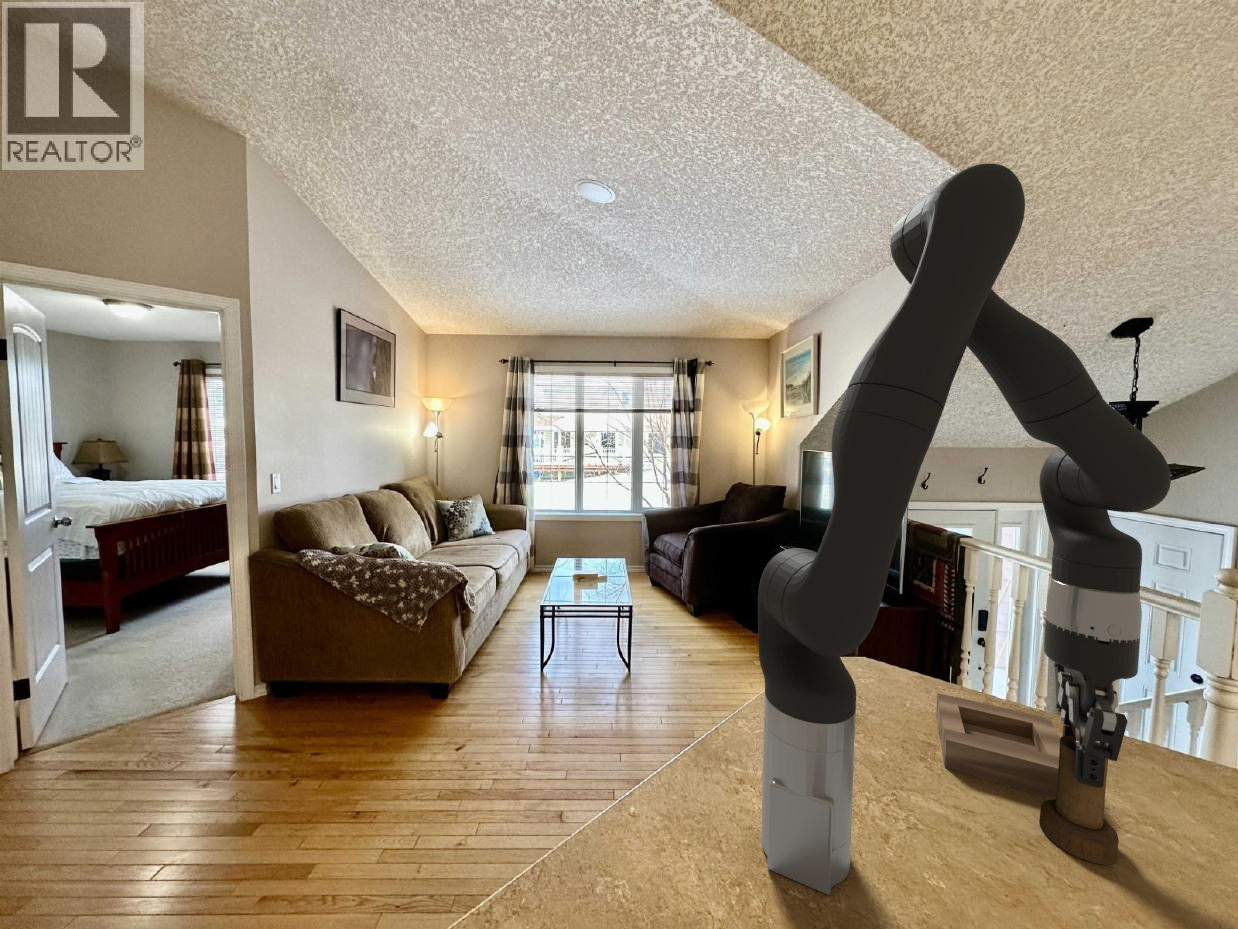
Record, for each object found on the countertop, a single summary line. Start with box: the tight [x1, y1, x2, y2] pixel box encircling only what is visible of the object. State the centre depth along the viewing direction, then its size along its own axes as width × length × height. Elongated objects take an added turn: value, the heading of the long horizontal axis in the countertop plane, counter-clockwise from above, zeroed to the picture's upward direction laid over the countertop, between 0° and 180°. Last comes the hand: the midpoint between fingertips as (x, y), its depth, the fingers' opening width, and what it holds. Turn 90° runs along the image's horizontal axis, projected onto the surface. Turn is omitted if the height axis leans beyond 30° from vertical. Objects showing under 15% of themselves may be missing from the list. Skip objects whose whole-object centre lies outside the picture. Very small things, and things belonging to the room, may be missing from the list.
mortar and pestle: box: [1038, 697, 1120, 866], centre depth 55 cm, size 7×6×18 cm
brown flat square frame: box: [935, 692, 1061, 799], centre depth 70 cm, size 14×14×4 cm
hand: (1081, 770), depth 55 cm, fingers closed on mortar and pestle, 4 cm apart
